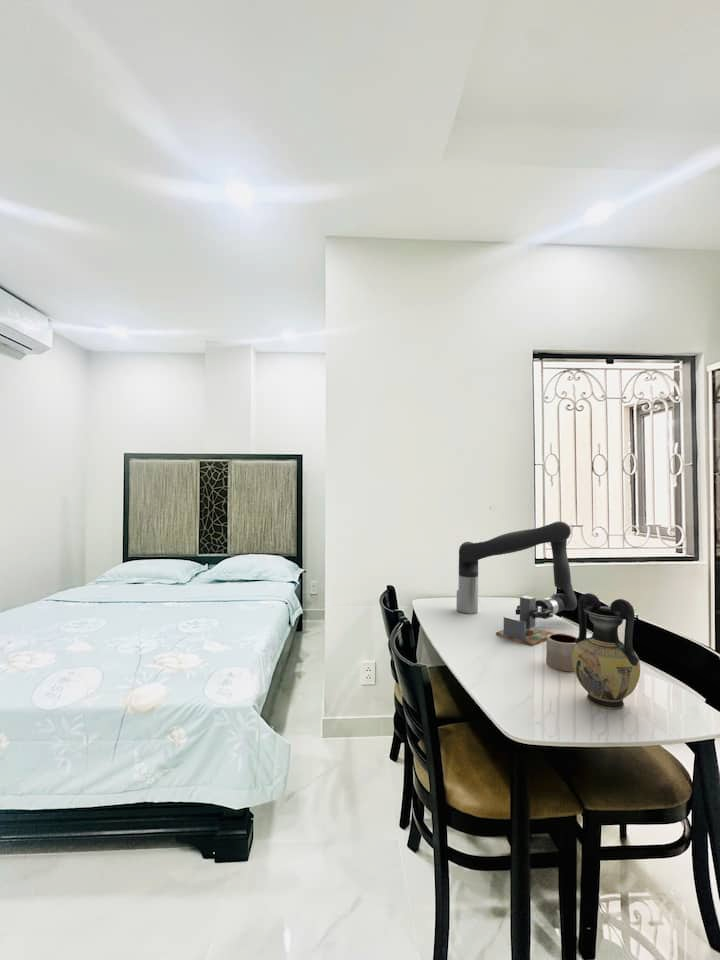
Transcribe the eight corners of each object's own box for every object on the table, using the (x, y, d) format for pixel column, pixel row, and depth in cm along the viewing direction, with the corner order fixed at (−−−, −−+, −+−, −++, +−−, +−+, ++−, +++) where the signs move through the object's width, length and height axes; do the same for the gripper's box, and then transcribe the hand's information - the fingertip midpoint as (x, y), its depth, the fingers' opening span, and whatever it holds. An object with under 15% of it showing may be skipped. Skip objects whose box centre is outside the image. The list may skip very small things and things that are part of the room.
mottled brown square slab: (495, 635, 188) (496, 631, 188) (520, 626, 200) (520, 623, 200) (532, 646, 176) (532, 642, 176) (555, 636, 188) (555, 633, 188)
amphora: (561, 700, 131) (562, 594, 132) (583, 683, 143) (584, 586, 144) (630, 724, 119) (631, 607, 119) (648, 703, 131) (649, 596, 131)
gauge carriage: (509, 633, 186) (510, 598, 186) (524, 628, 193) (525, 594, 193) (526, 638, 180) (526, 602, 180) (541, 632, 187) (541, 598, 188)
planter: (587, 673, 151) (587, 644, 151) (553, 672, 151) (553, 643, 151) (572, 660, 162) (572, 633, 162) (541, 660, 162) (541, 632, 162)
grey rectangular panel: (503, 634, 186) (503, 616, 186) (505, 633, 186) (505, 616, 187) (524, 640, 179) (524, 622, 179) (525, 639, 180) (525, 621, 180)
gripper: (530, 595, 204) (508, 601, 193) (562, 602, 193) (541, 608, 182) (529, 612, 204) (508, 619, 193) (561, 620, 193) (541, 627, 182)
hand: (524, 614), depth 187 cm, fingers open, 6 cm apart
